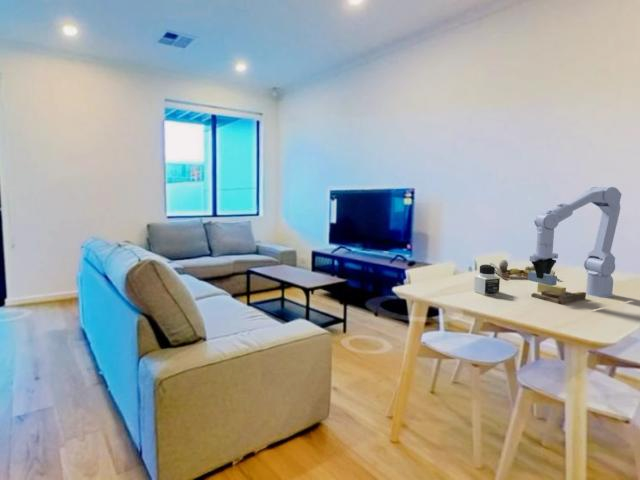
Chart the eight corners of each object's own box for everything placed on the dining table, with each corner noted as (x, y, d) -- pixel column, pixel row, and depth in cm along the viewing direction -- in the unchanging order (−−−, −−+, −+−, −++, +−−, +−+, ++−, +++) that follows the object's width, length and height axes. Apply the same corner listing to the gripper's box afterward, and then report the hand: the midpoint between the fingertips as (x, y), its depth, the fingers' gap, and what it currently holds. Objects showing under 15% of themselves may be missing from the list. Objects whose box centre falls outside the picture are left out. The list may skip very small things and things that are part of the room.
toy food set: (499, 280, 190) (500, 264, 189) (489, 272, 208) (489, 258, 207) (555, 281, 186) (556, 265, 185) (540, 273, 204) (541, 259, 203)
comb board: (531, 298, 157) (531, 289, 157) (555, 293, 164) (555, 285, 164) (560, 306, 147) (561, 297, 146) (585, 300, 154) (585, 292, 153)
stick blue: (556, 284, 154) (556, 276, 153) (551, 285, 152) (552, 277, 152) (532, 279, 163) (533, 271, 162) (528, 280, 161) (528, 271, 161)
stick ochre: (537, 291, 165) (537, 283, 165) (541, 290, 167) (542, 282, 166) (560, 297, 157) (561, 288, 156) (565, 296, 158) (566, 287, 157)
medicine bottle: (484, 295, 161) (486, 267, 160) (473, 291, 168) (474, 264, 167) (499, 294, 163) (500, 266, 162) (487, 290, 170) (488, 263, 169)
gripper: (547, 241, 162) (545, 273, 164) (523, 244, 156) (521, 277, 157) (564, 243, 156) (561, 276, 157) (540, 246, 149) (537, 281, 151)
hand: (542, 277), depth 157 cm, fingers closed on stick blue, 3 cm apart
